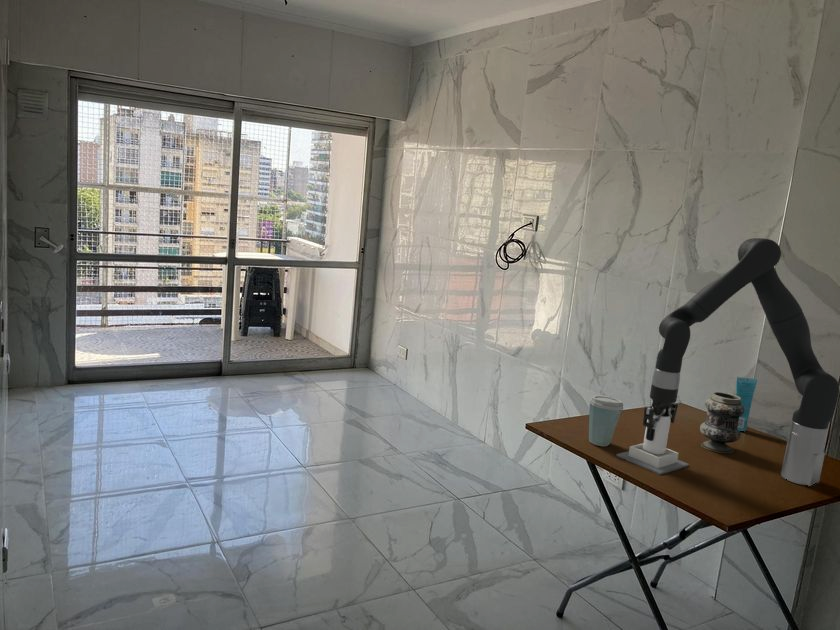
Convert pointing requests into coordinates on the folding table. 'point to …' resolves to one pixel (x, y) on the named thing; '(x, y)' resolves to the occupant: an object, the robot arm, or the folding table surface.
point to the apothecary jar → (721, 422)
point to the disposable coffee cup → (603, 419)
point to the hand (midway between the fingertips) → (656, 438)
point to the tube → (745, 398)
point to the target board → (653, 459)
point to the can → (658, 436)
